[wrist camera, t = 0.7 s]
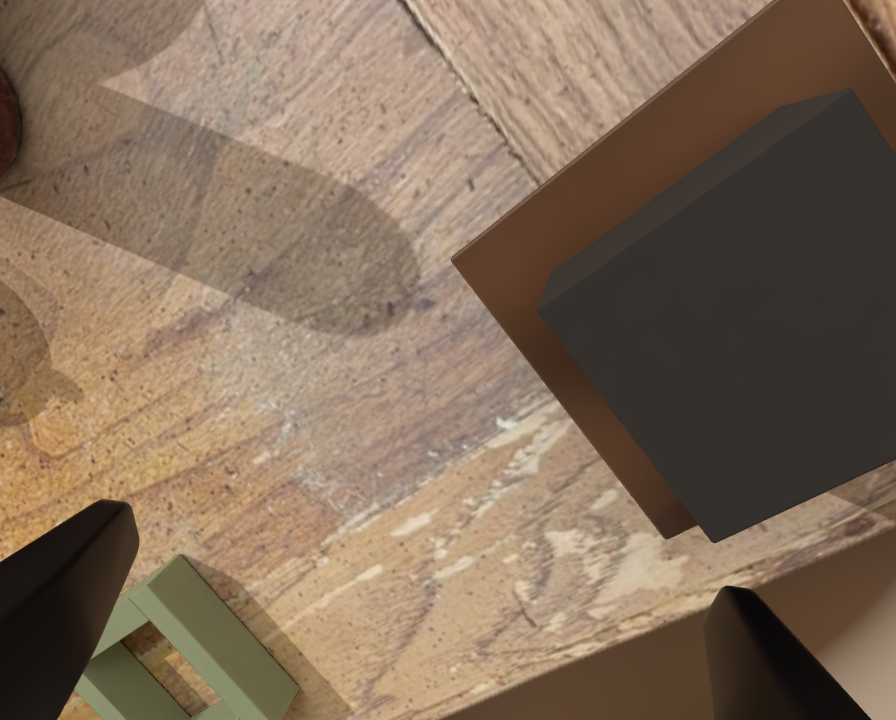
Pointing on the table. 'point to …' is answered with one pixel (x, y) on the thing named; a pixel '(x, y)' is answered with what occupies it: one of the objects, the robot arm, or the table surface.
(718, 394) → the black block
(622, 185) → the block
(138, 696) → the green square frame
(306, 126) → the table surface
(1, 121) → the can
